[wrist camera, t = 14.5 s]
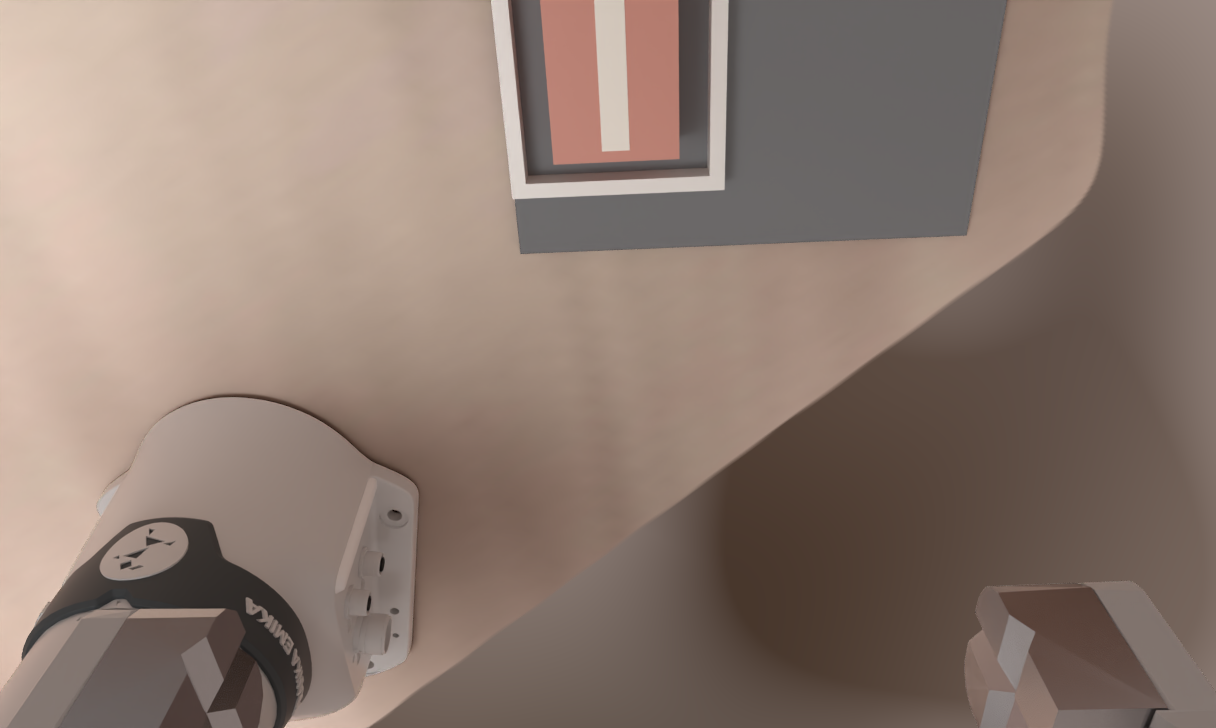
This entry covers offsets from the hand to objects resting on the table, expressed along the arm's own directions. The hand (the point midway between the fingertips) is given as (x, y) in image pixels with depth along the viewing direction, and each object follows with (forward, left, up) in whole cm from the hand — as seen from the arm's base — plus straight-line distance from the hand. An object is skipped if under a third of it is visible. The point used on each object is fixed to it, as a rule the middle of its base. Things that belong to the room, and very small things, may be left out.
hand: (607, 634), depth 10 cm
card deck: (0, 0, -34) cm, 34 cm away
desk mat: (0, -6, -34) cm, 35 cm away
